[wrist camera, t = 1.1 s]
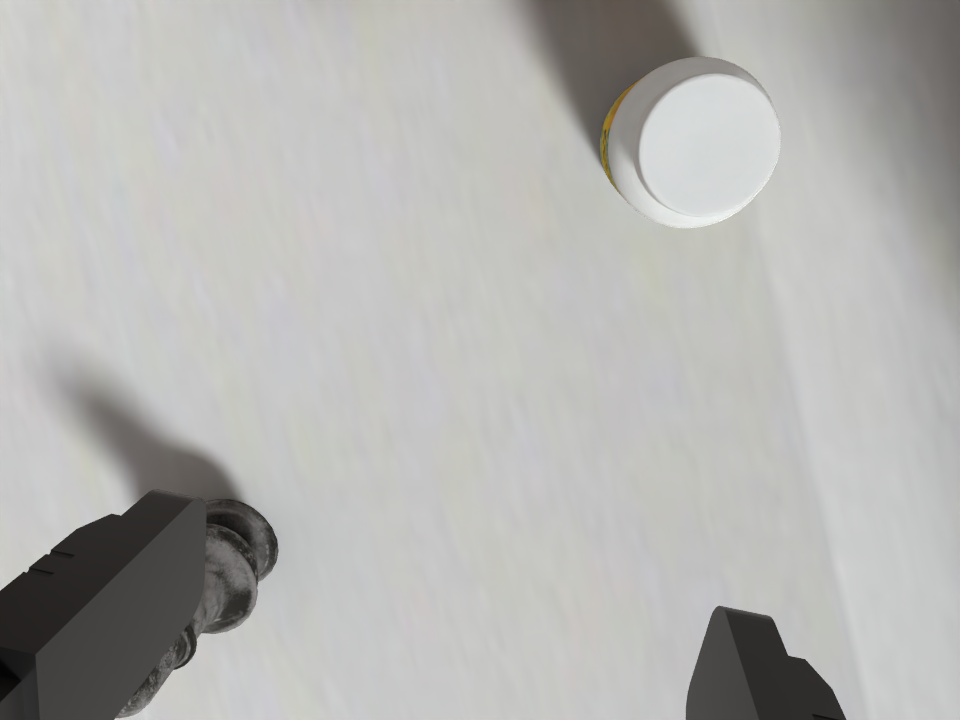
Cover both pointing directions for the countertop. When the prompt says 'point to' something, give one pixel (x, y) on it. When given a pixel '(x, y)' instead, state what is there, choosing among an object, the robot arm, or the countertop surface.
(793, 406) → the countertop surface
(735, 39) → the countertop surface
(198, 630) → the salt shaker
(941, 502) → the countertop surface
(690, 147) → the supplement bottle
